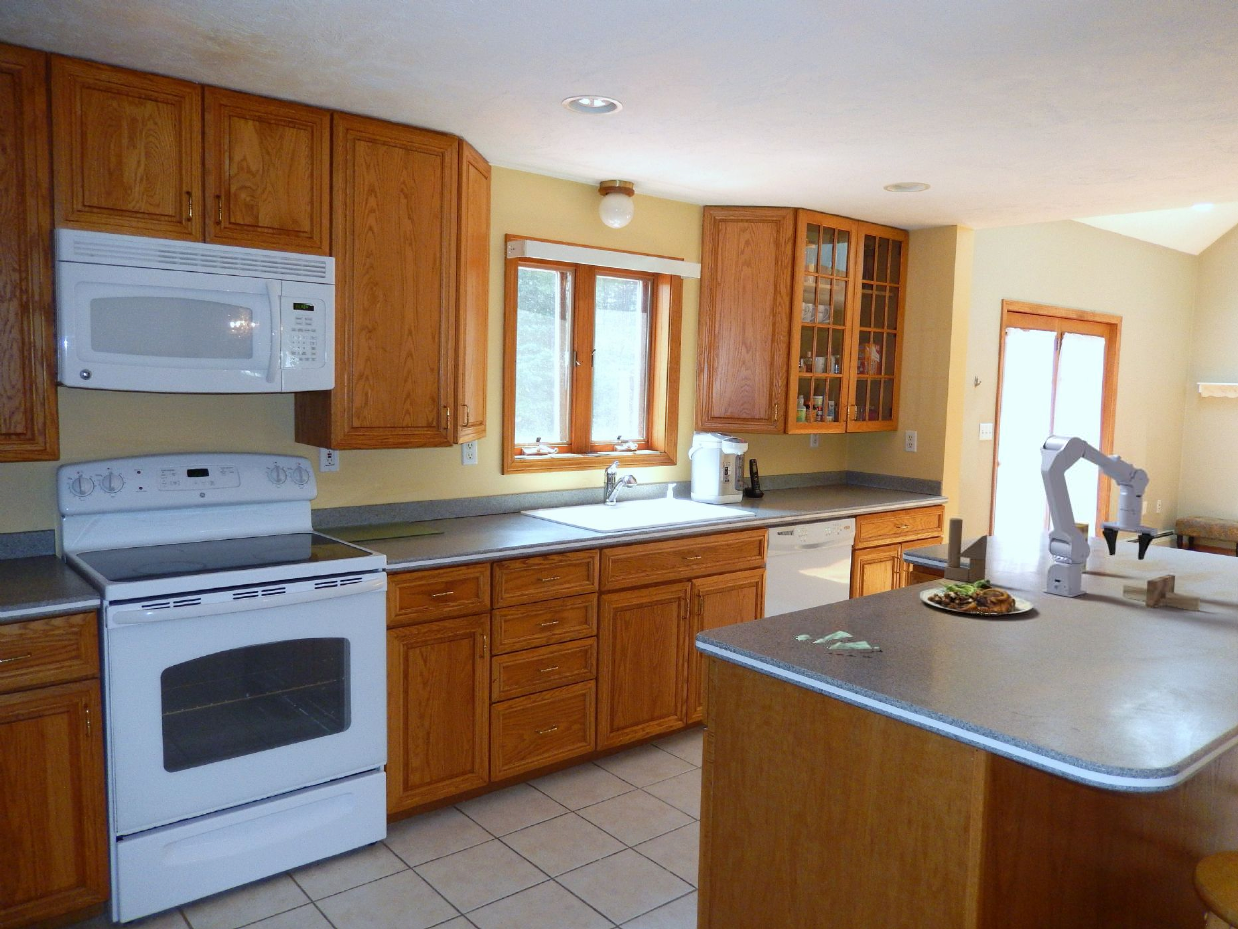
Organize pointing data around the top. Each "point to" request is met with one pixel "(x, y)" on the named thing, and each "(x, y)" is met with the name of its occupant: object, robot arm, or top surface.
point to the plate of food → (975, 599)
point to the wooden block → (965, 555)
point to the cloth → (839, 645)
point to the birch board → (1170, 599)
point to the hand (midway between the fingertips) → (1126, 557)
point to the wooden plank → (1159, 589)
